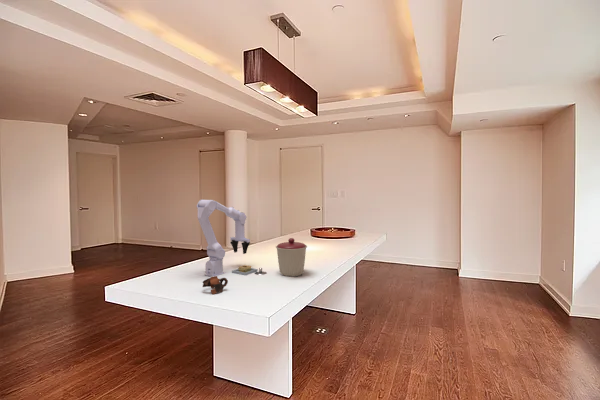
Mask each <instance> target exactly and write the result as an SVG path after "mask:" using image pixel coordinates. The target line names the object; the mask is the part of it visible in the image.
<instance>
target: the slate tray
mask: <svg viewBox="0 0 600 400" xmlns="http://www.w3.org/2000/svg"><path fill="white" fill-rule="evenodd" d="M255 272H259V268H255V267H251V271H249V272H246V273H245V272H239V271H238V268H237V269H233V270H231V274H236V275H241V276H248V275H251V274H254V273H255Z"/></svg>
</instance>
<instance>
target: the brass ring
mask: <svg viewBox="0 0 600 400" xmlns="http://www.w3.org/2000/svg"><path fill="white" fill-rule="evenodd" d="M251 268H252V266H251V265H246V264H244V265H241V266H238V267H237V269H238V271H239V272H245V273H246V272H249V271H251Z"/></svg>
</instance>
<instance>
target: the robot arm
mask: <svg viewBox="0 0 600 400" xmlns="http://www.w3.org/2000/svg"><path fill="white" fill-rule="evenodd" d="M196 209H197V221H198V223H199V225H200V228H201V230H202V232H203V233H202V234H203V236H204V238H205V240H206V243H207V246H206V254H207V256H208V261H206V262H205V273H204V275H205V276H207V277H214V276H217V277H218V276H220V275H223V274H226V273H227V272H225V271H223V270H224V269H223V267H224V265H223V262H224V258H225V256H226V250H225V249H224V248H223V247H222V244H220V243H219V242H218V240H217V238H216V234H215V232H214V229H213V226H212V223H211V222H210V218H209V217H210V216H211V215H212V214H213V212H214V211H215V210H218V211H219V212H222V213H224V214H225V216H226V217H228V218H230V219H232V220H233V221H234V230H235V231H234V236H232V237H230V244H231V245H230V246H231V247H232V250H233V252H234V253H238V246H239V242H241V247H242V254H243V255H245V254H247V251H248V248H249V246H250V244H251V239H250V238H246V235H245V234H246V233H245V230H246V229H245V223H246V220H247V215H246V213H245V212H242V211H240V210H239V209H236V208H235V207H233V206H230V207H229V206H228V207H227V206H225V205H223V204H221V203H220V202H218V201H216V200H215V199H199V201H198V202H197V204H196Z"/></svg>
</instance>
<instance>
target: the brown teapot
mask: <svg viewBox="0 0 600 400" xmlns="http://www.w3.org/2000/svg"><path fill="white" fill-rule="evenodd" d="M228 284H229V281H228V278H226V277H222V278H218V275H217V276H210V277H208V278H206V279H205V280H203V281H202V288H206V287H208V288H211V290H210V291H211V292H210V293H211V295H215V294H219V293H222V292H223V290H224V288H225V287H227V286H228Z"/></svg>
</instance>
